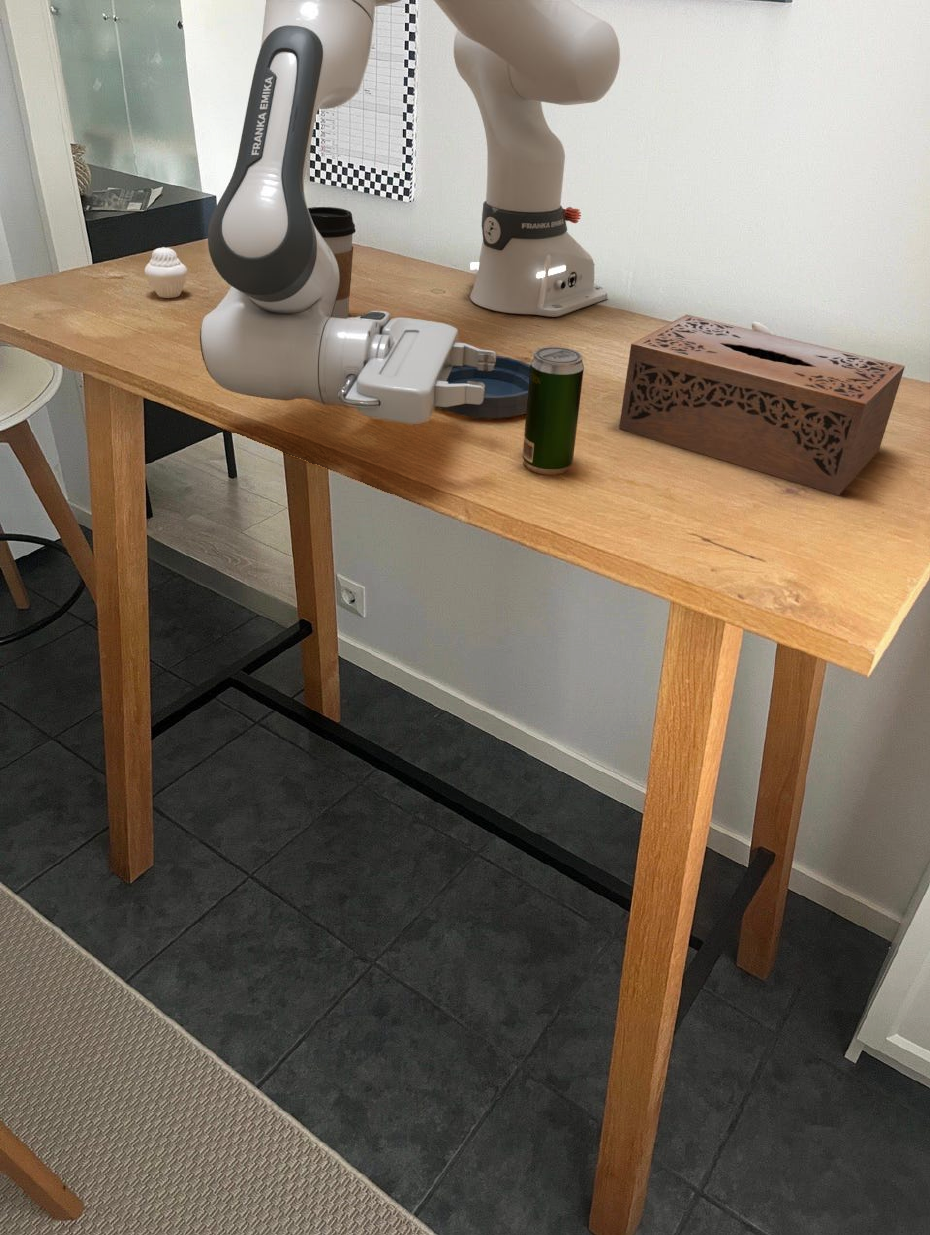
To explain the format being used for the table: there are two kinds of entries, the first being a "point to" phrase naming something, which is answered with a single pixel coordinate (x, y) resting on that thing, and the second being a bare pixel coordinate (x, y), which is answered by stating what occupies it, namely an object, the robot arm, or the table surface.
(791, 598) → the table surface
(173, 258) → the muffin
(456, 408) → the bowl
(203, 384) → the table surface
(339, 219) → the coffee cup
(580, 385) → the beer can
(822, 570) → the table surface
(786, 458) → the tissue box cover
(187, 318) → the table surface
